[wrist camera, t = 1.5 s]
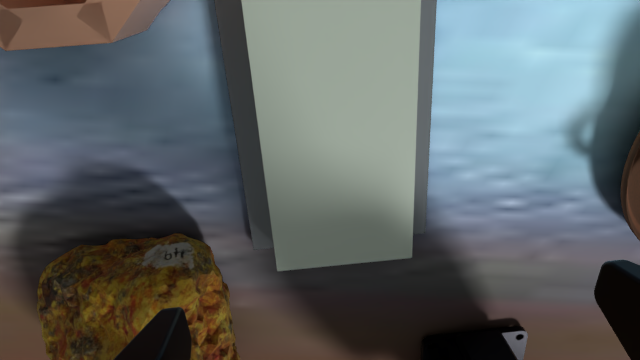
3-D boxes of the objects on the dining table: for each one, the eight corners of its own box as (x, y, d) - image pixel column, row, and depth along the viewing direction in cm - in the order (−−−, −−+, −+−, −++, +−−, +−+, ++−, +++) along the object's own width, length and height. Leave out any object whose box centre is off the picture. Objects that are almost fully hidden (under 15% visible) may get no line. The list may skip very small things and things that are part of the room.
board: (401, 235, 22) (412, 257, 20) (277, 247, 22) (277, 271, 20) (407, -17, 17) (421, -16, 15) (245, -5, 17) (240, -3, 15)
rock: (104, 283, 28) (-24, 260, 18) (232, 235, 29) (179, 187, 19) (145, 482, 25) (14, 593, 14) (291, 420, 25) (264, 484, 15)
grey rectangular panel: (421, 227, 23) (425, 233, 22) (254, 243, 22) (253, 249, 22) (432, -19, 18) (437, -19, 17) (215, -3, 17) (213, -3, 17)
